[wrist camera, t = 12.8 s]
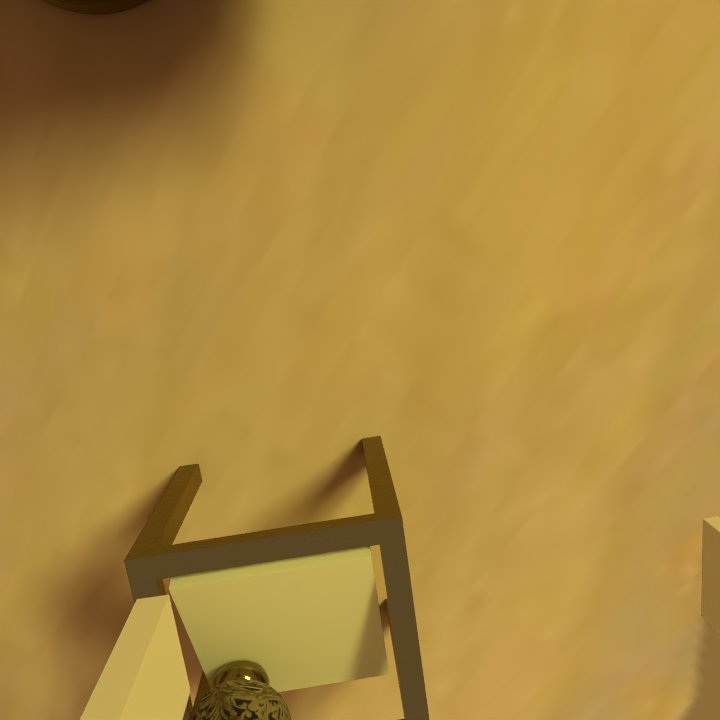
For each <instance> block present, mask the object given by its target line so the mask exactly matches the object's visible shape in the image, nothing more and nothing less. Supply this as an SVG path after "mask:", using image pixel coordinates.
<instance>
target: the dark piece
mask: <svg viewBox="0 0 720 720" xmlns="http://www.w3.org/2000/svg"><path fill="white" fill-rule="evenodd" d="M269 684H270V682H269V677H268V675H267V673H266V671H265V669H264V668H263V667H262V666H261V665H259V664H258V663H256V662H253V661H247V660H239V661H234V662H230V663H228V664H226V665H224V666H223V667H221V668H220V669H219V671H218V672H217V673H216V675H215V677H214V679H213V681H212V688H211V689H210V690H209V691H207V692H206V693H205V694H204V695H203V696H202V697H201V698H200V699H199V700H198V702H197V703H196V704H195V706H194V708H193V709H192V711H191V713H190V715H189V718H188V720H291V716H290V713H289V710H288V708H287V705H286V703H285V701H284V700H283V698H282V697H281V696H280V694H279V693H278V692H277V691H276V690H275V689H273V688H272V687H271V686H269Z"/></svg>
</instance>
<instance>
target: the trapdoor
mask: <svg viewBox="0 0 720 720" xmlns="http://www.w3.org/2000/svg"><path fill="white" fill-rule="evenodd" d="M169 591H170V594H171V596H172V598H173V601H174V603H175V605H176V608H177V610H178V612H179V615H180V617H181V619H182V622H183V624H184V626H185V629H186V631H187V633H188V636H189V638H190V640H191V643H192V645H193V648H194V650H195V652H196V655H197V657H198V659H199V662H200V664H201V666H202V669H203V671H204V673H205V676H206V678H207V680H208V683H209V685H210V687H211V688H212V681H213V679H214V677H215V675H216V673H217V672H218V671H219V669H220V668H221V667H223V666H224V665H226V664H228V663H230V662H234V661H239V660H247V661H253V662H256V663H258V664H259V665H261V666H262V667H263V668H264V669H265V671H266V673H267V675H268V677H269V682H270V684H269V686H271V687H272V688H273V689H275V690H276V691H277V692H283V691H289V690H295V689H302V688H308V687H314V686H320V685H326V684H332V683H338V682H345V681H351V680H357V679H363V678H369V677H375V676H382V675H388V674H389V670H388V663H387V656H386V650H385V643H384V636H383V630H382V623H381V617H380V610H379V603H378V597H377V590H376V583H375V577H374V570H373V564H372V557H371V550H370V546H367V547H360V548H354V549H347V550H341V551H335V552H328V553H322V554H316V555H309V556H303V557H296V558H290V559H284V560H277V561H271V562H265V563H258V564H252V565H245V566H239V567H233V568H226V569H220V570H214V571H207V572H201V573H194V574H188V575H182V576H175V577H171V580H170V585H169Z"/></svg>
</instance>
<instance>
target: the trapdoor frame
mask: <svg viewBox="0 0 720 720" xmlns="http://www.w3.org/2000/svg"><path fill="white" fill-rule="evenodd" d="M362 443H363V450H364V457H365V462H366V468H367V474H368V480H369V485H370V491H371V497H372V502H373V508H374V514H368V515H361V516H355V517H348V518H342V519H335V520H329V521H323V522H316V523H310V524H303V525H297V526H290V527H284V528H278V529H271V530H265V531H258V532H252V533H245V534H239V535H233V536H226V537H220V538H213V539H207V540H200V541H194V542H188V543H181V544H175V545H172V544H173V542H174V540H175V537H176V535H177V533H178V531H179V529H180V527H181V525H182V523H183V520H184V518H185V516H186V514H187V512H188V510H189V508H190V506H191V504H192V501H193V499H194V497H195V495H196V493H197V491H198V489H199V487H200V484H201V482H202V478H201V473H200V469H199V464H194V465H187V466H180V467H179V469H178V470H177V472H176V474H175V475H174V477H173V479H172V481H171V482H170V484H169V486H168V487H167V489H166V491H165V492H164V494H163V496H162V497H161V499H160V501H159V502H158V504H157V506H156V508H155V509H154V511H153V513H152V514H151V516H150V518H149V519H148V521H147V523H146V524H145V526H144V528H143V529H142V531H141V533H140V535H139V536H138V538H137V540H136V541H135V543H134V545H133V546H132V548H131V550H130V551H129V553H128V555H127V556H126V558H125V560H124V562H125V566H126V570H127V574H128V578H129V582H130V586H131V590H132V594H133V598H134V602H136V600H137V599H142V598H149V597H156V596H163V595H166V593H165V589H164V585H163V580H162V579H163V578H169V577H175V576H182V575H188V574H194V573H201V572H207V571H214V570H220V569H226V568H233V567H239V566H245V565H252V564H258V563H265V562H271V561H277V560H284V559H290V558H296V557H303V556H309V555H316V554H322V553H328V552H335V551H341V550H347V549H354V548H360V547H367V546H373V545H379V544H380V550H381V557H382V564H383V571H384V578H385V585H386V592H387V599H385V600H386V607H387V614H388V620H389V626H390V632H391V638H392V644H393V651H394V657H395V663H396V669H397V675H398V681H399V687H400V693H401V699H402V706H403V712H404V718H405V719H400V720H429V714H428V706H427V699H426V692H425V684H424V677H423V669H422V662H421V655H420V647H419V640H418V632H417V625H416V617H415V610H414V603H413V595H412V588H411V580H410V573H409V566H408V558H407V551H406V543H405V536H404V529H403V521H402V516H401V512H400V508H399V504H398V501H397V497H396V493H395V489H394V486H393V482H392V478H391V474H390V471H389V467H388V463H387V459H386V456H385V452H384V448H383V444H382V441H381V437H380V436H377V437H371V438H364V439H362ZM210 689H211V687H210V685H209V683H208V680H207V678H206V676H205V673H204V671H203V672H202V676H201V680H200V683H199V687H198V691H197V695H196V698H195V702H194V706H195V704H196V703H197V702H198V700H199V699H200V698H201V697H202V696H203V695H204V694H205V693H206V692H207V691H209V690H210ZM194 706H193V707H192V703H191V699H190V694H189V698H188V701H187V705H186V709H185V712H184V716H183V720H188V718H189V715H190V713H191V711H192V709H193V708H194Z"/></svg>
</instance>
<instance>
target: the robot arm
mask: <svg viewBox="0 0 720 720" xmlns="http://www.w3.org/2000/svg"><path fill="white" fill-rule="evenodd" d="M44 1H46V2H48V3H50V4H53V5H55V6H58V7H60V8H64V9H67V10H71V11H75V12H80V13H89V14H106V13H114V12H120V11H124V10H127V9H130V8H133V7H136V6H138V5H140V4H142V3H144V2H146V1H148V0H44ZM701 616H702V617H703V618H704V619H705V620H706V621H707V622H708V623H709V624H710V625H711V626H712V627H713V628H714V629H715V630H716V632H718V634H719V635H720V516H718V517H711V518H704V519H703V541H702V596H701ZM189 694H190V686H189V682H188V677H187V673H186V668H185V664H184V659H183V655H182V650H181V646H180V642H179V637H178V633H177V628H176V624H175V619H174V615H173V610H172V606H171V602H170V597H169V595H163V596H156V597H149V598H142V599H137V600H136V602H135V604H134V606H133V609H132V611H131V613H130V615H129V617H128V619H127V621H126V623H125V625H124V627H123V630H122V632H121V634H120V636H119V638H118V640H117V642H116V644H115V646H114V649H113V651H112V653H111V655H110V657H109V659H108V661H107V663H106V665H105V667H104V670H103V672H102V674H101V676H100V678H99V680H98V682H97V684H96V686H95V689H94V691H93V693H92V695H91V697H90V699H89V701H88V703H87V705H86V708H85V710H84V712H83V714H82V716H81V718H80V720H183V716H184V712H185V709H186V705H187V701H188V698H189Z"/></svg>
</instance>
